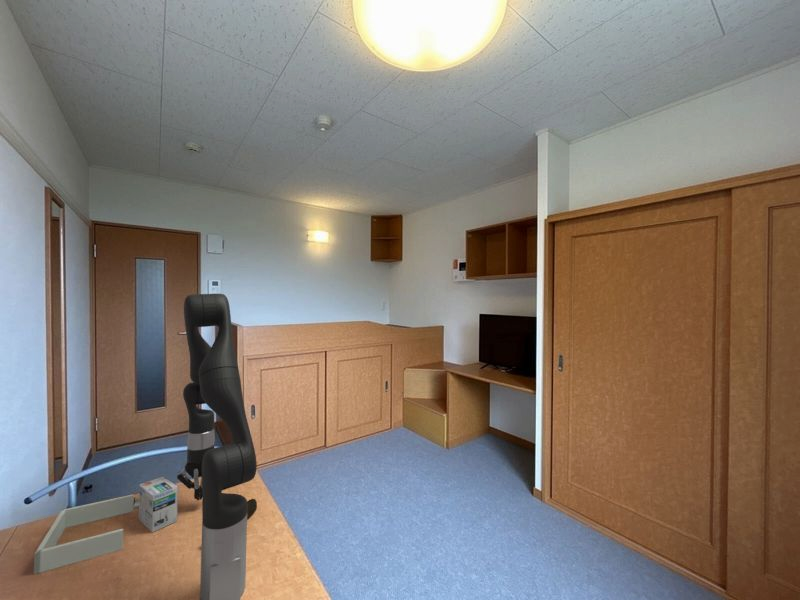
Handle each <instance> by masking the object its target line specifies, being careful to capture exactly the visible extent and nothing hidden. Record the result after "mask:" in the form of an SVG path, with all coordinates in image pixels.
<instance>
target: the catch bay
mask: <svg viewBox="0 0 800 600" xmlns="http://www.w3.org/2000/svg"><path fill="white" fill-rule="evenodd" d="M134 497H135V494H129V495H124V496H120V497H115V498H110V499H106V500H101V501H96V502H91V503H86V504H82V505H78V506H73V507H69V508H64V509H61V511H60V512H59V514H58V515H57V517H56V519H55V520H54V522H53V524H52V525H51V526H50V529H49V530H48V531H47V533H46V535H45V536H44V538H43V539H42V541H41V542H40V544H39V546H38V548H37V549H36V551H35V552H34V559H33V561H34V564H33V566H34V567H33V575H36V574H40V573H45V572H48V571H51V570H54V569H59V568H61V567H65V566H68V565H72V564H76V563H79V562H83V561H86V560H90V559H93V558H96V557H100V556H103V555H108V554H111V553H115V552H119V551H122V550H123V546H124V545H123V543H124V528H120V529H115V530H112V531H108V532H104V533H100V534H97V535H94V536H89V537H85V538H81V539H77V540H73V541H69V542H64V543H62V544H58V545H57V543H58V542H59V540H60V537H61V535H62V534H63V533H64V531H65V529H66V528H71V527H74V526H78V525H83V524H87V523H92V522H95V521H96V522H97V521H99V520H105V519H109V518H112V517H116V516H121V515H125V514H129V513H133V512H134V507H133V503H134ZM81 509H83V510H81Z"/></svg>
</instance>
